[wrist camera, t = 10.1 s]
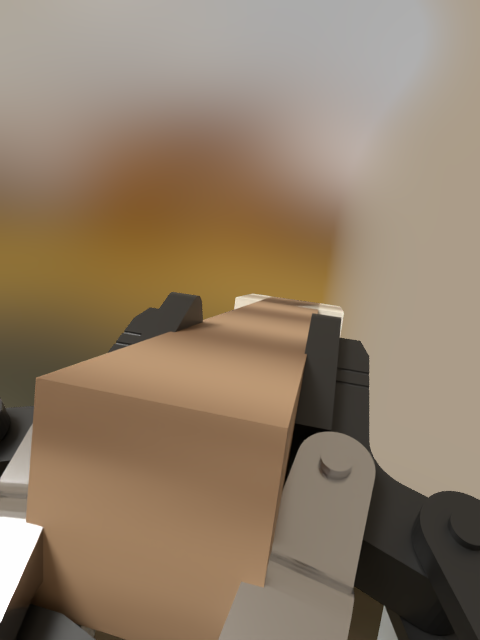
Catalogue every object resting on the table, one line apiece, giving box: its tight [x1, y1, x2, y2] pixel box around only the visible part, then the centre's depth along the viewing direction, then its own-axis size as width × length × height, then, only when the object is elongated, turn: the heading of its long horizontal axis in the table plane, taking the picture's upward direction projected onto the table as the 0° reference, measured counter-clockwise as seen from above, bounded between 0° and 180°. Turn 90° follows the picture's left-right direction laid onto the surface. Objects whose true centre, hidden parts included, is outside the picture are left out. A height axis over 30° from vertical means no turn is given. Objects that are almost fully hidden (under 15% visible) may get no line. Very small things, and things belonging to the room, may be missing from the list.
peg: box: [26, 294, 344, 640], centre depth 16 cm, size 22×6×3 cm, turn 168°
